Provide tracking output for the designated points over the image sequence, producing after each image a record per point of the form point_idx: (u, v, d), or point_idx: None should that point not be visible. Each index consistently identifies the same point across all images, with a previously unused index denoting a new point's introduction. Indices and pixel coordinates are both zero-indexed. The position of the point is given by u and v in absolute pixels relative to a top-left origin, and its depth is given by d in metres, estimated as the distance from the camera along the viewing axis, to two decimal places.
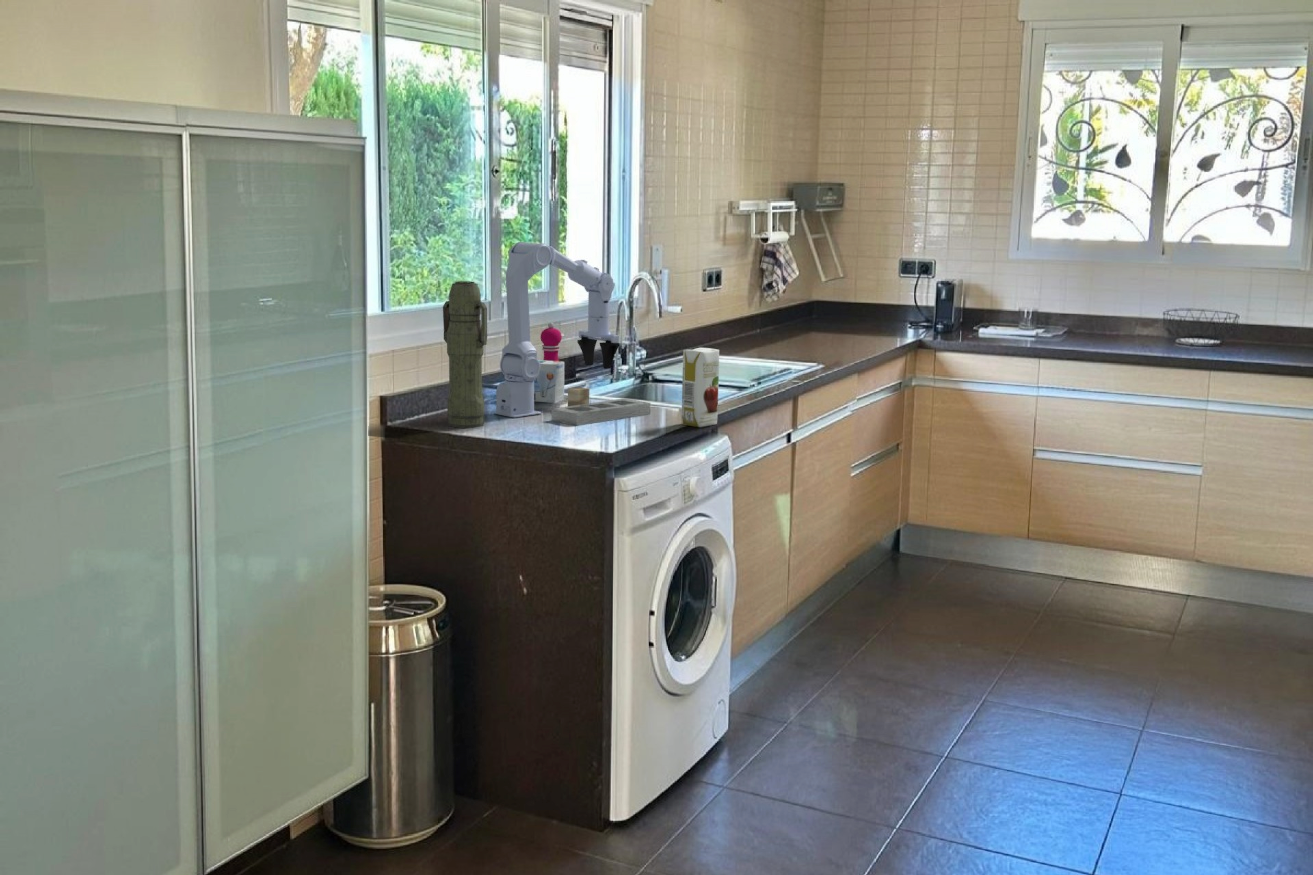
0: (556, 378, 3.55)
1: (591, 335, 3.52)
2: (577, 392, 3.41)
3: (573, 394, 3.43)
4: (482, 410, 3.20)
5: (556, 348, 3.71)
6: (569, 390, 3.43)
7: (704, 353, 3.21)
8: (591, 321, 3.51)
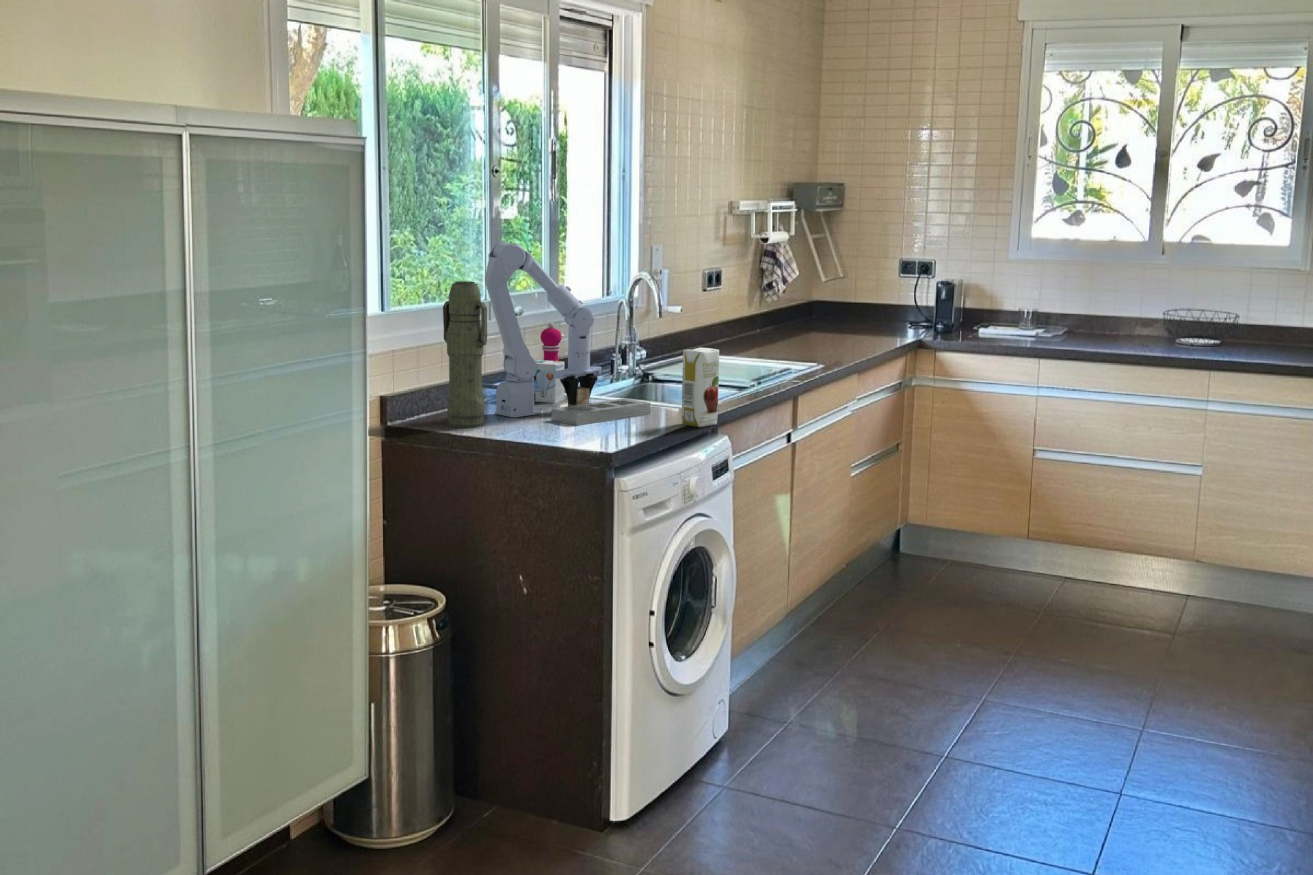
0: (556, 378, 3.55)
1: None
2: (577, 392, 3.41)
3: None
4: (482, 410, 3.20)
5: (556, 348, 3.71)
6: None
7: (704, 353, 3.21)
8: None
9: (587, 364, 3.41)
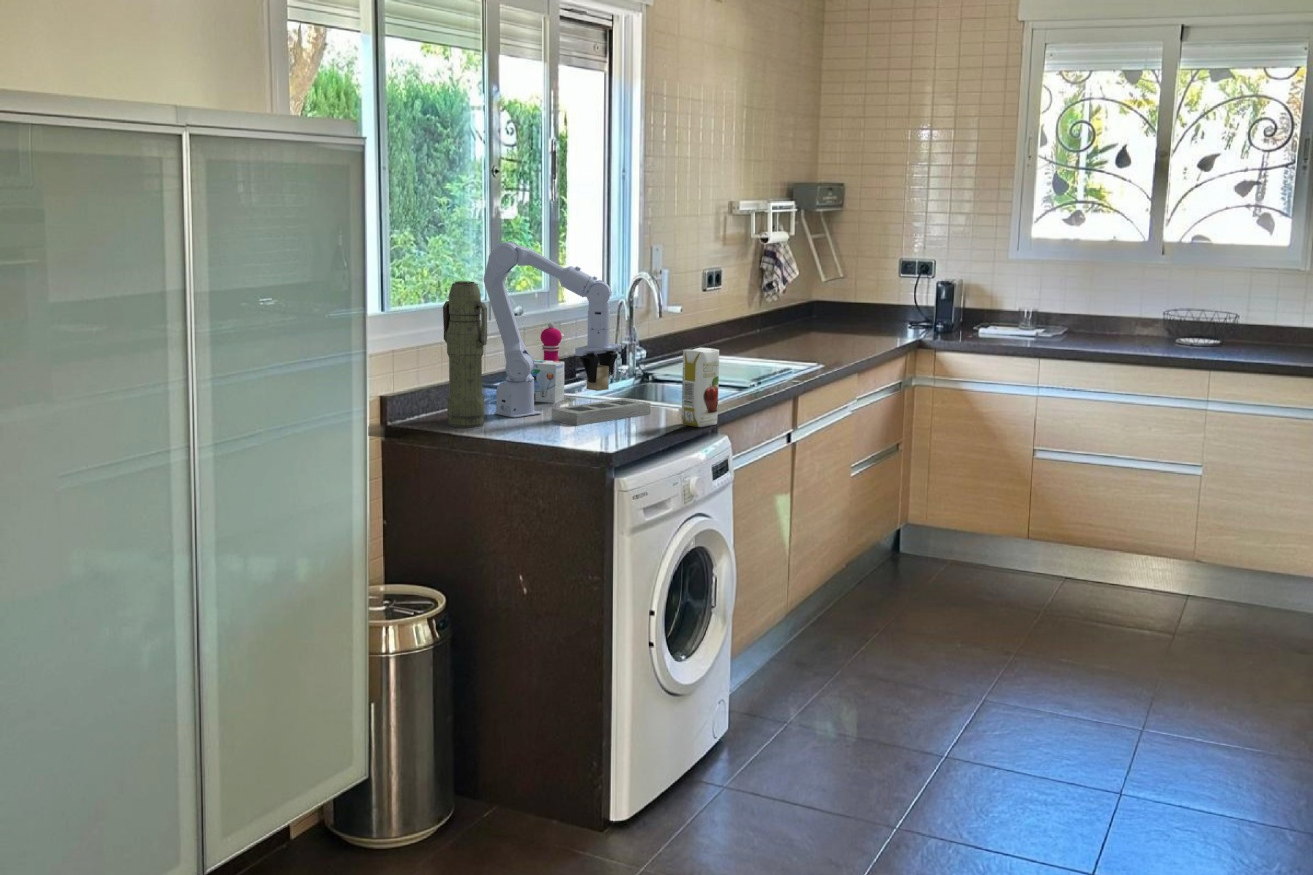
0: (556, 378, 3.55)
1: None
2: None
3: None
4: (482, 410, 3.20)
5: (556, 348, 3.71)
6: None
7: (704, 353, 3.21)
8: None
9: (607, 341, 3.32)
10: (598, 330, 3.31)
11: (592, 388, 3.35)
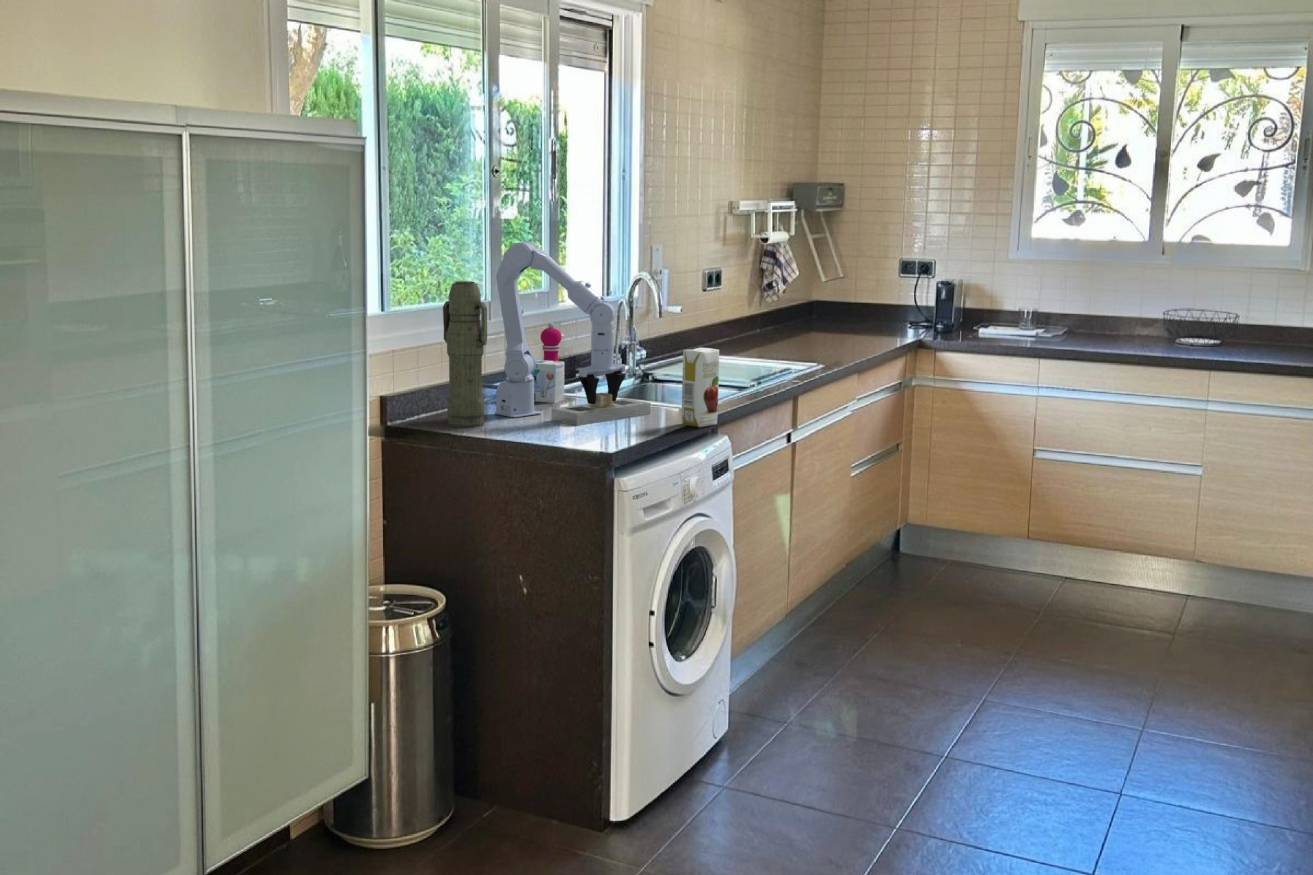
0: (556, 378, 3.55)
1: None
2: (600, 398, 3.33)
3: (596, 400, 3.34)
4: (482, 410, 3.20)
5: (556, 348, 3.71)
6: None
7: (704, 353, 3.21)
8: None
9: (611, 362, 3.32)
10: (602, 351, 3.30)
11: None
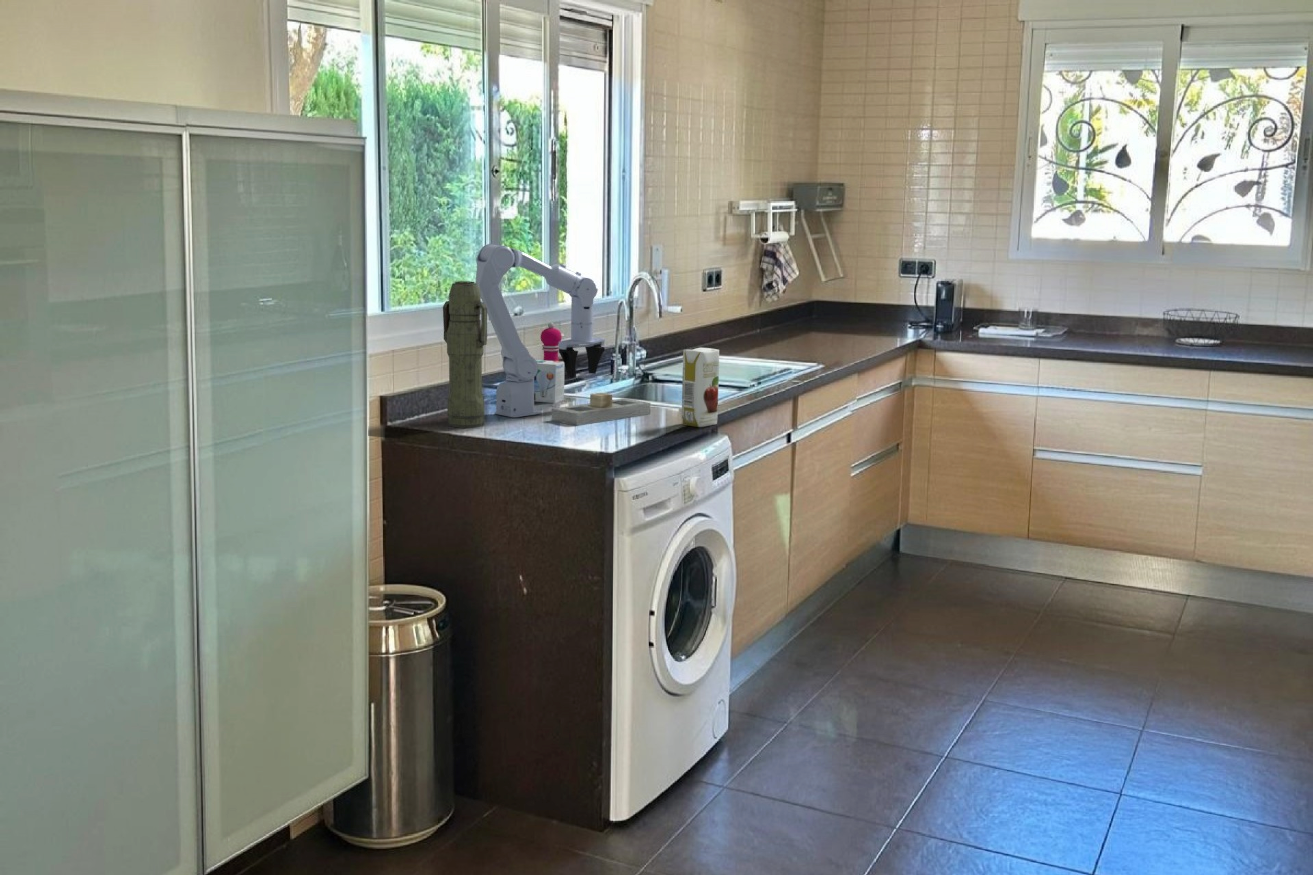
0: (556, 378, 3.55)
1: None
2: (600, 398, 3.33)
3: (596, 400, 3.34)
4: (482, 410, 3.20)
5: (556, 348, 3.71)
6: (591, 396, 3.35)
7: (704, 353, 3.21)
8: None
9: (590, 335, 3.41)
10: (581, 324, 3.39)
11: None
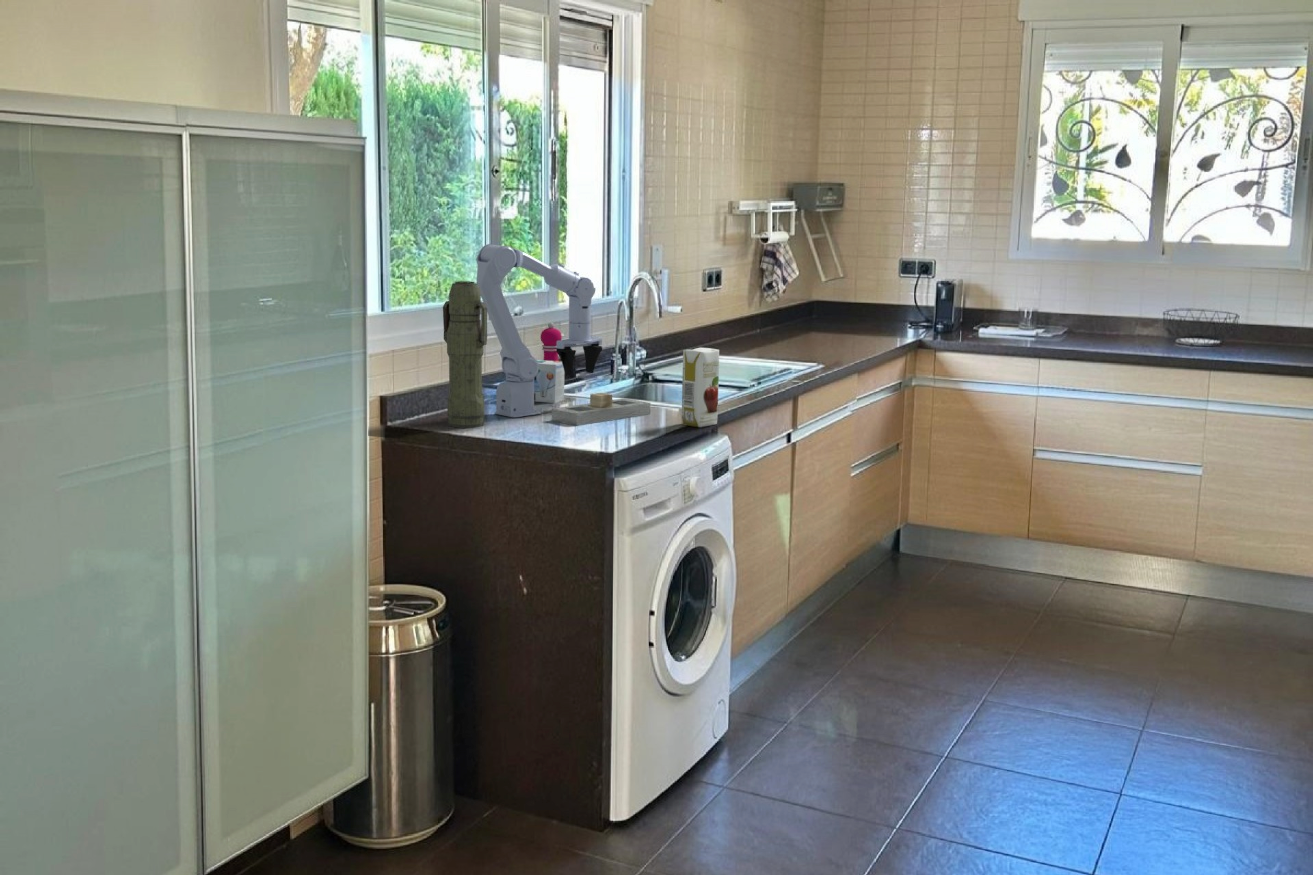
0: (556, 378, 3.55)
1: None
2: (600, 398, 3.33)
3: (596, 400, 3.34)
4: (482, 410, 3.20)
5: (556, 348, 3.71)
6: (591, 396, 3.35)
7: (704, 353, 3.21)
8: None
9: (588, 334, 3.42)
10: (579, 324, 3.41)
11: None
